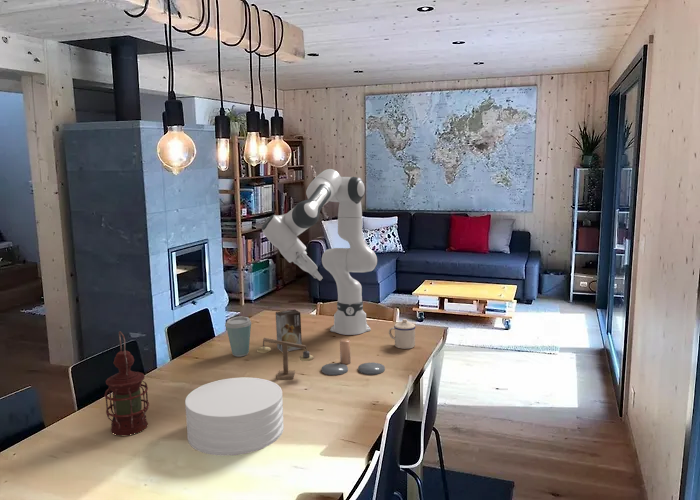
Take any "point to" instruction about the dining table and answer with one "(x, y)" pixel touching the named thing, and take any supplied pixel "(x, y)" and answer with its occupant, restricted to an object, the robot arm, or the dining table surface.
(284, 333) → the coffee box
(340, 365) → the dish
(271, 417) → the plate stack
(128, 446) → the dining table surface
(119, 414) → the lantern
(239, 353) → the disposable coffee cup
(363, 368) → the dish
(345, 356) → the peach shift knob
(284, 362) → the balance
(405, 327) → the teacup with lid
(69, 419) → the dining table surface
